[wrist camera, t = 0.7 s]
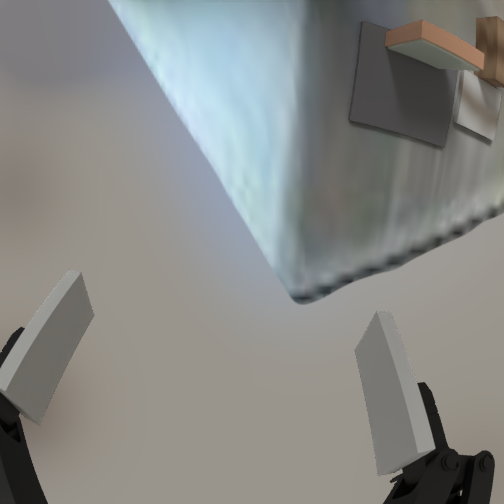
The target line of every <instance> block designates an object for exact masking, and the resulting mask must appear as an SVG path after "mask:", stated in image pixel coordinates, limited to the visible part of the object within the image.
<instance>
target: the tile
mask: <svg viewBox="0 0 504 504" xmlns="http://www.w3.org/2000/svg"><path fill="white" fill-rule="evenodd" d="M385 46H386V47H388V49H390V50H393V51H396V52H399V53H402V54H404V55H407V56H409V57H412V58H415V59H417V60H419V61H422V62H424V63H427V64H429V65H431V66H433V67H436V68H438V69H454V70H470V71H479V70H483V67H484V53H482V52H481V51H479V50H478V49H476V48H475V47H473V46H471V45H470V44H468V43H466V42H465V41H463V40H461V39H459V38H458V37H456V36H454V35H452V34H450V33H448V32H446V31H444V30H443V29H441V28H439V27H437V26H435V25H432V24H430V23H428V22H426V21H424V20H420V21H417V22H414V23H411V24H407V25H404V26H401V27H399V28H396V29H393V30H390V31H387V32H386V40H385Z"/></svg>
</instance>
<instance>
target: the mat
mask: <svg viewBox="0 0 504 504" xmlns="http://www.w3.org/2000/svg"><path fill="white" fill-rule="evenodd" d="M387 31H390V29H387V28H384V27H381V26H378V25H375V24H371V23H368V22H365V21H362V22H361V31H360V40H359V50H358V58H357V66H356V74H355V81H354V88H353V95H352V101H351V107H350V114H349V120H351V121H355V122H359V123H364V124H368V125H372V126H376V127H379V128H383V129H387V130H391V131H394V132H398V133H401V134H404V135H408V136H411V137H414V138H417V139H420V140H423V141H426V142H429V143H432V144H435V145H438V146H441V147H443V148H444V146H445V142H446V138H447V133H448V128H449V124H450V118H451V113H452V107H453V101H454V95H455V88H456V81H457V72H458V70H454V69H438V68H436V67H433V66H431V65H429V64H427V63H424V62H422V61H419V60H417V59H415V58H412V57H409V56H407V55H404V54H402V53H399V52H396V51H393V50H390V49H388V47H386V46H385V40H386V32H387Z"/></svg>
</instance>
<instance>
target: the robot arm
mask: <svg viewBox="0 0 504 504" xmlns="http://www.w3.org/2000/svg"><path fill="white" fill-rule="evenodd" d="M93 317H94V313H93V310H92V307H91V304H90V300H89V297H88V294H87V290H86V287H85V283H84V280H83V276H82V273H81V272H78V271H73V270H68V271H67V272H66V274H65V275H64V276H63V277H62V279H61V280H60V281H59V282H58V284H57V285H56V286H55V288H54V289H53V290H52V291H51V293H50V294H49V295H48V297H47V298H46V299H45V301H44V302H43V304H42V305H41V306H40V308H39V309H38V311H37V312H36V313H35V315H34V316H33V318H32V319H31V320H30V322H29V324H28V325H27V326H26V328H22V327H20V328H19V329H18V330H17V331H15V332H14V333H13V334H12V335H11V337H10V338H9V340H8V341H7V344H6V345H5V346H4V348H3V349H2V352H1V353H0V504H48V503H47V500H46V498H45V496H44V493H43V491H42V489H41V486H40V483H39V480H38V478H37V475H36V472H35V470H34V466H33V463H32V460H31V457H30V454H29V450H28V447H27V444H26V440H25V436H24V432H23V428H22V424H21V420H20V418H19V413H21V414H22V415H23V416H24V417H25V418H26V419H28V420H30V421H32V422H34V423H36V424H37V425H39V426H40V424H41V422H42V419H43V417H44V415H45V412H46V410H47V408H48V405H49V403H50V401H51V399H52V396H53V394H54V392H55V390H56V388H57V385H58V383H59V381H60V379H61V377H62V375H63V373H64V371H65V369H66V367H67V365H68V363H69V361H70V359H71V357H72V355H73V353H74V351H75V350H76V348H77V346H78V344H79V342H80V340H81V338H82V336H83V335H84V333H85V331H86V329H87V327H88V326H89V324H90V322H91V320H92V319H93ZM355 354H356V359H357V363H358V367H359V372H360V377H361V381H362V386H363V390H364V396H365V401H366V406H367V411H368V416H369V422H370V427H371V433H372V439H373V446H374V452H375V459H376V466H377V474H378V476H381V475H386V474H391V473H395V472H397V471H398V470H400V469H402V470H403V473H402V474H400V475H398V476H396V477H395V478H393V479H392V480H391V481H390V482H391V483H392V482H395V481H397V482H396V483H395V484H394V487H393V489H392V490H391V492H390V494H389V495H388V497H387V498H386V500H385V501H384V503H383V504H489V502H490V497H491V491H492V483H493V476H494V467H495V462H494V458H493V455H492V454H491V453H490V452H489V451H481V452H480V453H478V454H477V455H475V456H468V455H459V454H458V453H457V452H456V451H455V450H454V449H450V448H449V447H448V444H447V442H446V438H445V434H444V430H443V427H442V423H441V420H440V416H439V414H438V413H437V412H438V410H437V407H436V405H435V400H434V397H433V395H432V392H431V390H430V389H429V388H428V386H427V385H426V383H425V382H423V383H417V381H416V378H415V375H414V372H413V369H412V367H411V364H410V361H409V358H408V355H407V353H406V350H405V347H404V344H403V342H402V339H401V337H400V334H399V331H398V329H397V326H396V324H395V321H394V319H393V316H392V314H391V313H390V312H378V311H377V312H376V313H375V315H374V317H373V319H372V321H371V323H370V324H369V326H368V328H367V330H366V332H365V333H364V335H363V337H362V339H361V341H360V342H359V344H358V346H357V347H356V349H355ZM461 490H462V495H461V496H460V491H461Z"/></svg>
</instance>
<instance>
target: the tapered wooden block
mask: <svg viewBox="0 0 504 504" xmlns="http://www.w3.org/2000/svg"><path fill="white" fill-rule="evenodd" d="M476 49H478V50H479V51H481V52H482V53H484V67H483V70H479V71H474V74H472V73H470V72H468V71H467V70H461V72H460V81H459V88H458V95H457V102H456V108H455V113H454V119H453V122H455V123H457V124H459V125H461V126H464V127H466V128H468V129H470V130H472V131H474V132H476V133H478V134H480V135H482V136H484V137H486V138H488V139H490V140H492V141H493V140H494V136H495V131H496V126H497V120H498V115H499V108H500V102H501V94H502V92H501V91H499V90H498V89H496V88H495V87H493V86H498V87H503V88H504V21H503V20H502V19H500V18H499V17H498V16H494V17H485V18H477V19H476ZM492 85H493V86H492Z"/></svg>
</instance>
